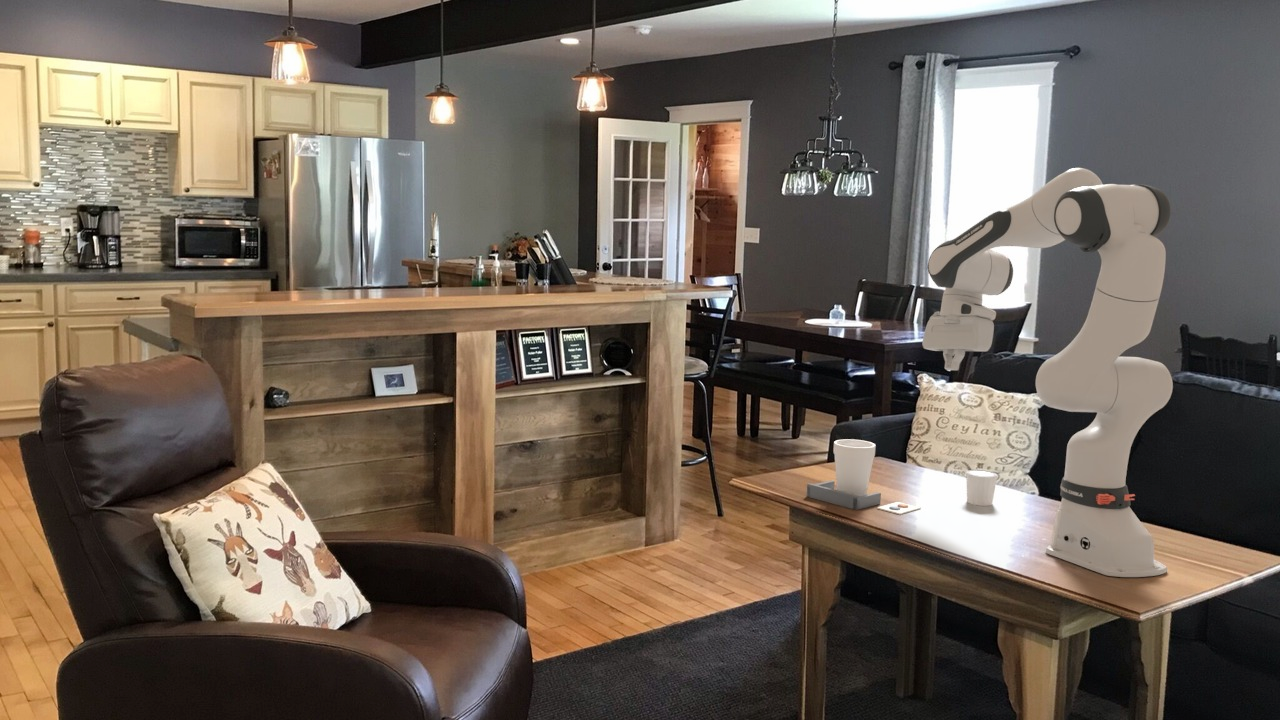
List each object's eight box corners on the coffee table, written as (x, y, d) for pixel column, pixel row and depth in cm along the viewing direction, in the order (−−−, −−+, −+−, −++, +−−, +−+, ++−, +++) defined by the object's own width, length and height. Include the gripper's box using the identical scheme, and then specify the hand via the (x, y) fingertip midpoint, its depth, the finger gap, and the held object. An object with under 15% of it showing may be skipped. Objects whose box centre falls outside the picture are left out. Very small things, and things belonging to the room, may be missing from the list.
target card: (897, 503, 242) (897, 500, 242) (920, 508, 237) (920, 506, 237) (877, 508, 236) (877, 506, 236) (900, 514, 232) (900, 512, 232)
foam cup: (866, 494, 249) (869, 439, 247) (877, 504, 240) (880, 448, 238) (826, 493, 248) (829, 438, 247) (835, 503, 239) (839, 447, 237)
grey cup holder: (830, 490, 251) (831, 478, 250) (880, 503, 241) (881, 490, 240) (806, 496, 245) (807, 483, 244) (856, 510, 235) (857, 496, 234)
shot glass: (991, 499, 248) (993, 470, 247) (998, 507, 241) (1000, 477, 240) (961, 497, 248) (963, 468, 248) (967, 505, 242) (969, 475, 241)
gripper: (921, 309, 252) (912, 366, 252) (979, 306, 233) (969, 368, 233) (942, 314, 255) (933, 371, 254) (1001, 312, 236) (992, 373, 235)
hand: (951, 369), depth 243 cm, fingers closed
